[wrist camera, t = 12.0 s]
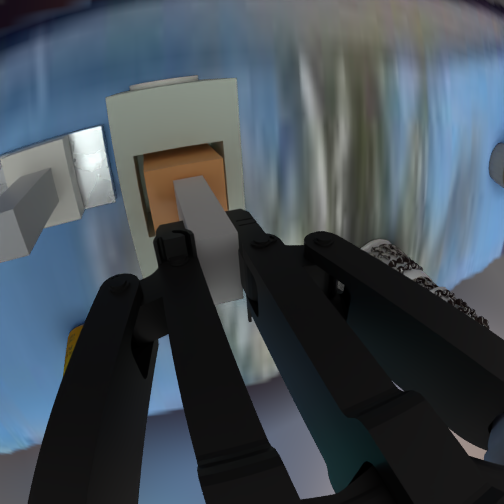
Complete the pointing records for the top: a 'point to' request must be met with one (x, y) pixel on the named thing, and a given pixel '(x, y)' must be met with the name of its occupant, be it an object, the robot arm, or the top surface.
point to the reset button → (180, 177)
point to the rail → (85, 166)
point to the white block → (172, 142)
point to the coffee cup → (497, 164)
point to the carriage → (37, 195)
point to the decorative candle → (416, 274)
